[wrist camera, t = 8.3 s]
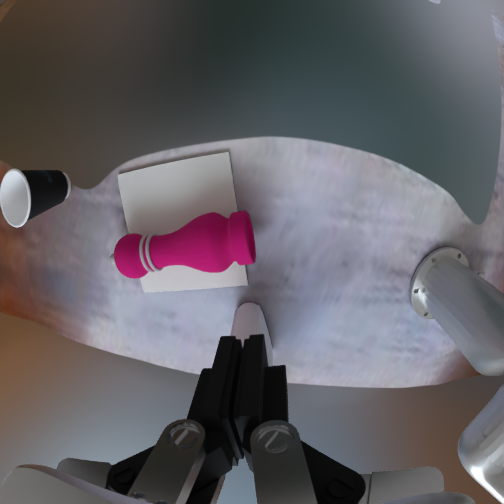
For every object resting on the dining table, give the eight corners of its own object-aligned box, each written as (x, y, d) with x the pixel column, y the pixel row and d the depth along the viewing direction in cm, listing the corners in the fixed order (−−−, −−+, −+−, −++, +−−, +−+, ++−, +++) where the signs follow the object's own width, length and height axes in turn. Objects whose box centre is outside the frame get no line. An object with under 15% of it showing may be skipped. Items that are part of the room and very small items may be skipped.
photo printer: (275, 352, 43) (276, 410, 31) (249, 356, 43) (243, 414, 31) (261, 298, 39) (258, 354, 28) (232, 304, 40) (219, 359, 28)
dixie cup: (76, 158, 34) (26, 164, 23) (80, 208, 36) (33, 226, 26) (44, 165, 34) (-3, 174, 24) (48, 211, 37) (3, 228, 26)
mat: (229, 151, 33) (228, 151, 32) (248, 283, 39) (247, 285, 38) (118, 174, 34) (117, 175, 34) (145, 291, 40) (144, 292, 40)
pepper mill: (240, 197, 29) (95, 229, 32) (248, 263, 28) (95, 283, 31) (252, 216, 36) (124, 240, 39) (258, 270, 35) (126, 287, 38)
